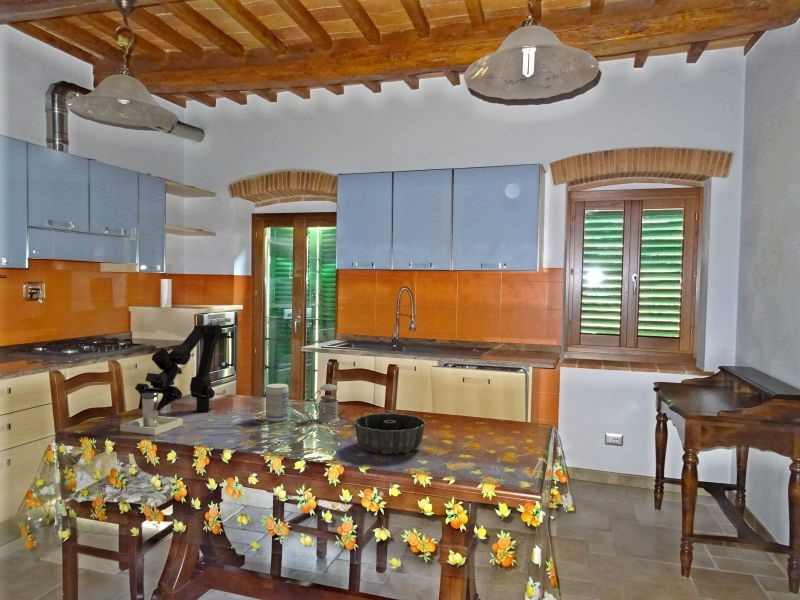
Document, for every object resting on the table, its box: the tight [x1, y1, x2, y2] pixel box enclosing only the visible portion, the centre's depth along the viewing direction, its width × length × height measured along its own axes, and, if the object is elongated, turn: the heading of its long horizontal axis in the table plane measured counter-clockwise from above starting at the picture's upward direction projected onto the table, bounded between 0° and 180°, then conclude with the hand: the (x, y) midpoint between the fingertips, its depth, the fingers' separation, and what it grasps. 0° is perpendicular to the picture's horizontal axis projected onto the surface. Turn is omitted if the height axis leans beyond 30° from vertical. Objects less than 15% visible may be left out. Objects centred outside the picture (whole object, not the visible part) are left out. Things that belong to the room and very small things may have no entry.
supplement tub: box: [265, 383, 289, 423], centre depth 239 cm, size 10×10×15 cm
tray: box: [119, 415, 184, 436], centre depth 220 cm, size 16×16×3 cm
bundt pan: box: [353, 412, 427, 455], centre depth 203 cm, size 26×26×10 cm
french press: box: [312, 361, 341, 423], centre depth 241 cm, size 10×12×25 cm
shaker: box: [142, 391, 159, 428], centre depth 219 cm, size 6×6×14 cm
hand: (148, 409), depth 218 cm, fingers open, 8 cm apart
